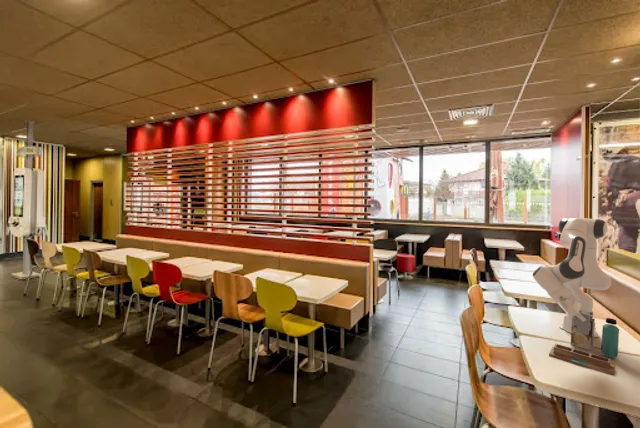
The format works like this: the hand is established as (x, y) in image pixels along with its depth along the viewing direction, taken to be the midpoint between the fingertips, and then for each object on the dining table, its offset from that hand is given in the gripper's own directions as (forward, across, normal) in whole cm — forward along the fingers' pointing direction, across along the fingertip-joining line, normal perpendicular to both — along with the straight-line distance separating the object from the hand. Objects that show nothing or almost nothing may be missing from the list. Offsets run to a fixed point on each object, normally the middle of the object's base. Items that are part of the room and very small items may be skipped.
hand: (585, 319), depth 152 cm
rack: (+14, 0, +15) cm, 21 cm away
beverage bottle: (+22, +16, +8) cm, 28 cm away
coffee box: (+14, +22, +16) cm, 31 cm away
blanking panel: (+4, 0, +5) cm, 7 cm away
